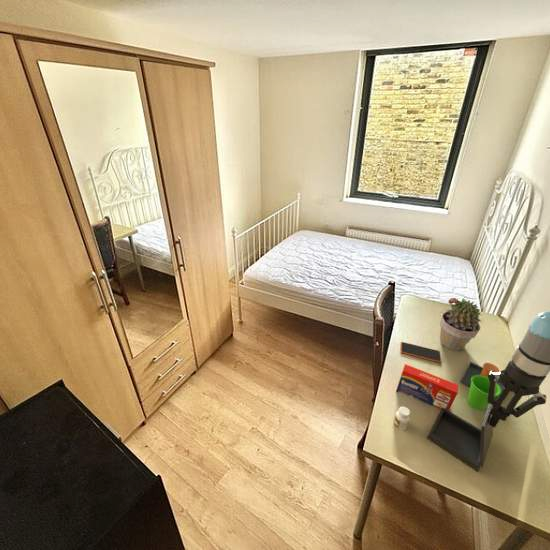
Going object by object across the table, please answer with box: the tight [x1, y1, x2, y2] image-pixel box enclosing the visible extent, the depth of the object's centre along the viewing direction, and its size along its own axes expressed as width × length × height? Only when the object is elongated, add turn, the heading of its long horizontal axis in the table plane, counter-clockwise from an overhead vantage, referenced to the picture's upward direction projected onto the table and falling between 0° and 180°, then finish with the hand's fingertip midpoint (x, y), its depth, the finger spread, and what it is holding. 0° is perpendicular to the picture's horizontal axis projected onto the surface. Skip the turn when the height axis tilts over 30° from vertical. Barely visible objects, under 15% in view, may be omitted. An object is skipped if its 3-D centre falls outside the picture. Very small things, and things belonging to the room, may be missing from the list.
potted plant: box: [439, 297, 484, 352], centre depth 132 cm, size 18×20×25 cm
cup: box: [466, 375, 501, 411], centre depth 106 cm, size 9×9×11 cm
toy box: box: [395, 363, 459, 411], centre depth 108 cm, size 18×4×12 cm, turn 58°
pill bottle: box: [393, 406, 411, 431], centre depth 100 cm, size 4×4×8 cm
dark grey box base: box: [426, 407, 482, 473], centre depth 96 cm, size 15×14×3 cm
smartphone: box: [400, 341, 442, 363], centre depth 132 cm, size 8×17×1 cm, turn 69°
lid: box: [479, 397, 495, 468], centre depth 88 cm, size 15×14×1 cm
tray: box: [459, 361, 504, 399], centre depth 118 cm, size 14×13×2 cm
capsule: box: [480, 362, 500, 377], centre depth 116 cm, size 5×5×8 cm
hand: (492, 422), depth 86 cm, fingers closed
